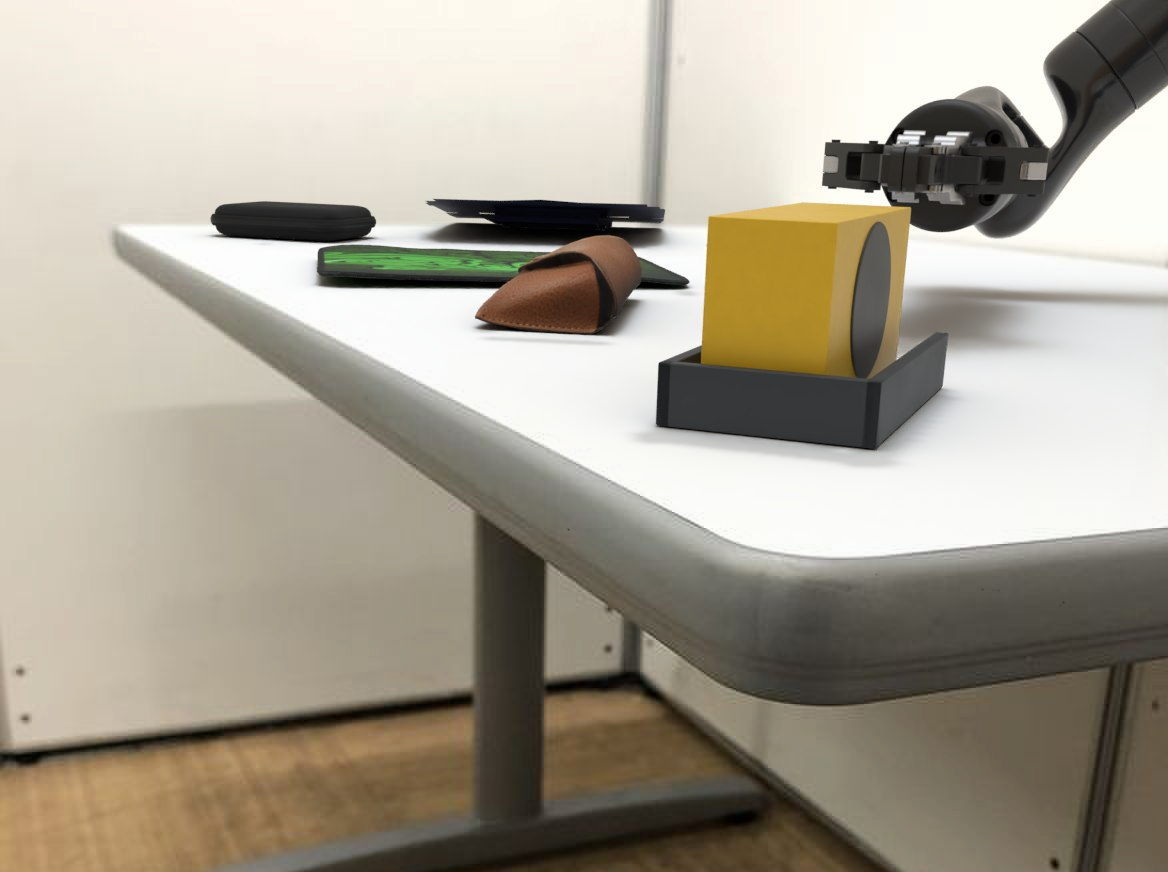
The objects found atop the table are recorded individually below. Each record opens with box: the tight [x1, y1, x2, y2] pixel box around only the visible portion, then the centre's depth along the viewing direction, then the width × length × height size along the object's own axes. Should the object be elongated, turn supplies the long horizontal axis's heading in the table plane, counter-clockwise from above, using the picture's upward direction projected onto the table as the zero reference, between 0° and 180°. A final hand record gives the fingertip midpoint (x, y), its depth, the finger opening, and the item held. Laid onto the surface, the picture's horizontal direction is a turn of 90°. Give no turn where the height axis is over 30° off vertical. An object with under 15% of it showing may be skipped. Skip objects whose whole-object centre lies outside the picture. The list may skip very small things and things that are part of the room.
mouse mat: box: [316, 244, 691, 286], centre depth 110 cm, size 27×22×1 cm
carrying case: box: [209, 200, 377, 242], centre depth 139 cm, size 11×3×15 cm
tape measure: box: [701, 202, 911, 379], centre depth 59 cm, size 13×5×8 cm, turn 155°
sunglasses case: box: [474, 234, 642, 335], centre depth 87 cm, size 18×7×7 cm
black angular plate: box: [425, 198, 666, 239], centre depth 149 cm, size 24×30×4 cm
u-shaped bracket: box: [655, 331, 949, 450], centre depth 60 cm, size 15×9×2 cm, turn 157°
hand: (902, 169), depth 71 cm, fingers closed
